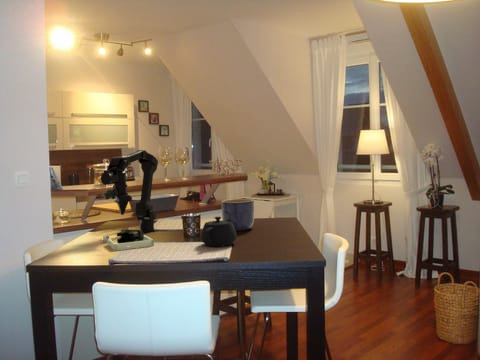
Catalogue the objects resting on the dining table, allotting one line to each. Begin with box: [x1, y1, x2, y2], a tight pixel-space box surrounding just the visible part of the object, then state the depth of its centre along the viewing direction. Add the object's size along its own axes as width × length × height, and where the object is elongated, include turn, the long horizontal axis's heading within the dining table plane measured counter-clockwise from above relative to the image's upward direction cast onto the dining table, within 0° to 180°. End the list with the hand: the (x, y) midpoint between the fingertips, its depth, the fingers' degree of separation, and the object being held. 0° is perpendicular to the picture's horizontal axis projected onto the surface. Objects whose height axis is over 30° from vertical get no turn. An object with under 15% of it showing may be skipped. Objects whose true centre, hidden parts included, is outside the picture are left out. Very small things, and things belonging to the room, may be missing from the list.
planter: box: [221, 198, 255, 232], centre depth 244 cm, size 17×17×15 cm
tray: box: [107, 234, 155, 252], centre depth 215 cm, size 17×16×3 cm
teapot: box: [200, 216, 238, 248], centre depth 209 cm, size 25×16×12 cm, turn 156°
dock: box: [102, 235, 110, 244], centre depth 230 cm, size 16×10×3 cm, turn 116°
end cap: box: [116, 229, 145, 244], centre depth 216 cm, size 10×7×7 cm
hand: (122, 214), depth 231 cm, fingers closed
